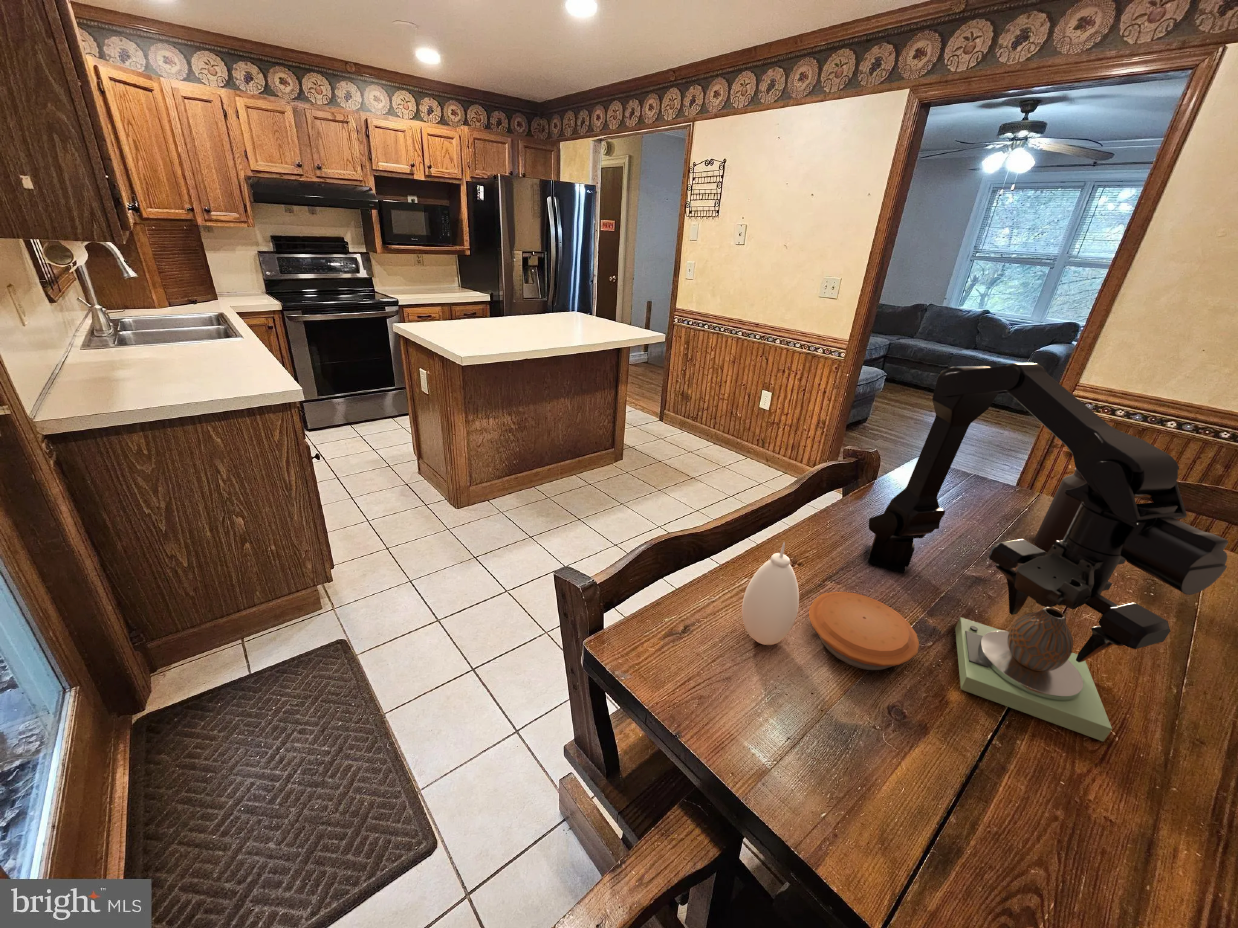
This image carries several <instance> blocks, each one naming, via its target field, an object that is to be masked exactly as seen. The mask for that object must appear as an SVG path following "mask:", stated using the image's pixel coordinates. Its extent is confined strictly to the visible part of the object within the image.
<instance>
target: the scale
mask: <svg viewBox="0 0 1238 928" xmlns="http://www.w3.org/2000/svg"><path fill="white" fill-rule="evenodd" d="M954 630H955V631H954V632H955V642H956V651H957V662H958V672H959V674H958V675H959V684H960V690H961V691H963V692H966V693H970V694H973V695H975V696H978V697H980V698H983V699H985V700H988V701H991V702H994V703H997V704H999V705H1003V706H1005V707H1007V708H1010V709H1013V710H1016V711H1019V712H1021V713H1024V714H1027V715H1030V716H1032V717H1035V718H1038V719H1040V720H1043V721H1045V722H1048V723H1051V724H1054V725H1057V726H1059V727H1062V728H1064V729H1068V730H1070V731H1073V732H1075V733H1079V734H1081V735H1084V736H1087V737H1089V738H1092V739H1095V740H1097V741H1100V742H1104V741H1105V740H1106V739H1107V737H1108V736H1109V734H1111V732H1112V730H1113V727H1112V725H1111V722H1110V720H1109V717H1108V715H1107V712H1106V710H1105V706H1104V704H1103V702H1102V700H1101V697H1100V694H1099V691H1098V689H1097V687H1096V684H1095V681H1094V679H1093V676H1092V674H1091V671H1090V669H1089V666H1088V664H1087V660H1085V661H1083V662H1077V661H1076V658H1077V656H1078V653H1074V652H1072V653H1071V655H1070V657H1069V659H1068V660H1069V661H1070V662H1071V663H1072V664H1073V665H1074V666H1075V668H1076V669H1077V670H1078V672H1079V673H1080V675H1081V677H1082V680H1083V688H1082V690H1081V692H1080V693H1079V695H1078V696H1076V697H1075V698H1072V699H1068V700H1054V699H1048V698H1044V697H1041V696H1038V695H1035V694H1032V693H1030V692H1027V691H1025V690H1023V689H1021V688H1019V687H1017V686H1015V685H1013V684H1012V683H1010V682H1008V681H1007V680H1005V679H1004V678H1003V677H1001V676H1000V675H999V674H997V673H996V672H995V671H994V670H993V669H992V668H991V667H990V666H989V665H988V664H987V663H986V661H985V660H984V658H983V657H982V655H981V653H980V649H979V644H980V641H981V639H982V637H983V636H984V635H985V634H987V633H989V632H992V631H1003V629H1000V628H995V627H992V626H989V625H986V624H983V623H980V622H977V621H975V620H974V621H973V620H970V619H967V618H964V617H961V616H960V617H959V619H958V621H957V624H956V625H955V628H954Z"/></svg>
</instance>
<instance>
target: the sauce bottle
mask: <svg viewBox="0 0 1238 928" xmlns="http://www.w3.org/2000/svg"><path fill="white" fill-rule="evenodd" d="M785 547H786V542H785V541H783V543H782V545H781V548H780V552H776V553H773V554H772V555H771V556H770V559H768V560H766V562H764V563H763V564H762V565H761V566H760V567H759V568H758V569H757V570H756V572H755V573H754V574H753V576H752V578H751V579H750V581H749V583H748V585H747V586H746V588H745V591H744V595H743V598H742V603H741V619H742V623H743V624H742V625H743V627H744V629H745V630H746V633H747V635H749V637H750V638H751V639H753V640H754V641H755V642H757V643H758V644H762V645H763V646H765V645H766V646H772V645H776V644H778V643H779V642H782V640H784V639H785V638H786V637H787V635H788V634H789V633H790V632H791V630H792V629H793V627H794V625H795V623H796V620H797V616H798V614H799V605H800V590H799V583H798V580H797V575H796V573H795V570H794V569H793V567H792V565H791V559H790V558H789V556H787V555H786V554H785Z"/></svg>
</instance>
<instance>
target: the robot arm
mask: <svg viewBox="0 0 1238 928" xmlns="http://www.w3.org/2000/svg"><path fill="white" fill-rule="evenodd" d="M1005 394H1009V395H1010V396H1011V397H1012V398H1013V399H1015V401H1017V403H1019V404H1020V405H1021V406H1022V407H1023V408H1024V409H1025V410H1027V412H1029V413H1030V415H1032V416H1033V417H1035V419H1036V420H1037V421H1038V422H1040V423H1041V424H1042V425H1043V426H1044V427H1045V428H1046V429H1047V430H1048V431H1049V432H1050V433H1052V435H1054V437H1055V438H1057V439H1058V440H1059V441H1060V442H1061V443H1062V444H1063V445H1064V446H1065V447H1066V448H1067V449H1068V451H1069V452H1070V453H1071V454H1072V458H1073V463H1074V468H1075V467H1076V469H1077V470H1078V472H1079V473H1080V474H1081V476H1082V477H1083V478H1084V480H1085V481H1086V482H1087V483H1085V484H1084V485H1082V486H1079V487H1076V488H1072V489H1066V490H1065V494H1066V495H1068V496H1070V497H1072V498H1074V499H1076V500H1078V501H1080V502H1082V503H1081V505H1080V507H1079V509H1078V511H1077V513H1076V515H1075V517H1074V519H1073V521H1072V523H1071V525H1070V527H1069V529H1068V531H1067V533H1066V534H1065V536H1064V538H1063V540H1061V541H1056V542H1055V544H1054V545H1052V547H1051V549H1050V550H1049V551H1046V550H1044V549H1042V548H1040V547H1039V546H1037V545H1036V544H1035V545H1034V544H1033V543H1031V542H1029V541H1028V540H1026V539H1024V538H1019V539H1014V540H1007V541H1001V542H997V543H996V544H994V545H993V546H992V547H991V550H990V551H989V554H988V559H989V560H990V561H992V562H993V563H995V569H997V570H999V571H1000V573H1001V574H1002V575H1003V576H1004V577H1005V579H1006V583H1007V590H1008V613H1009V615H1011V616H1014V615H1017V614H1018V613H1019V612H1020V611H1021V610H1022V608H1023V607H1024V605H1025V604H1026V601H1027V600H1028V598H1031V599H1032V600H1034V601H1035V603H1036V604H1038V605H1039V606H1042V607H1043V608H1046V607H1050V608H1054V607H1056V606H1058V607H1060V606H1065V607H1067V608H1068V609H1070V610H1072V611H1073V610H1076V609H1078V608H1080V607H1082V606H1084V605H1085V606H1087V607H1089V608H1091V609H1092V610H1094V611H1096V612H1097V613H1099V614H1100V615H1101V616H1100V618H1099V620H1098V625H1095V626H1092V627H1091V629H1090V630H1091V633H1092V634H1091V635H1090V637H1089V638H1088V640H1087V641H1086V642H1085V644H1084V645H1083V647H1082V648H1081V649H1080V650H1079V651H1078V653H1077V654H1078V656H1077V658H1076V661H1077V662H1083V661H1087V660H1089V659H1091V658H1092V657H1095V655H1097V654H1099V653H1100V652H1102V651H1104V650H1106V649H1108V648H1109V647H1111V646H1114V645H1115V646H1118V647H1124V646H1125V647H1126V648H1129V649H1133V650H1137V649H1142V648H1145V647H1149V646H1153V645H1155V644H1159V643H1163V642H1165V640H1166V639H1167V638H1168V636H1169V635H1170V632H1171V628H1170V624H1169V621H1168V620H1167V619H1165V618H1163V617H1161V616H1159V615H1158V614H1156V613H1154V612H1152V611H1151V610H1149V609H1147V608H1146V607H1145V606H1142V605H1140V604H1138V603H1137V602H1131V603H1126V604H1122V605H1119V604H1117V603H1115V602H1113V601H1112V600H1110V599H1109V598H1107V597H1106V596H1103V595H1102V593H1103V592H1104V591H1110V589H1111V587H1112V585H1113V582H1111V581H1110V579H1111V577H1112V575H1113V573H1114V572H1115V570H1116V569H1117V567H1118V566H1119V565H1123V564H1125V563H1128V564H1129V565H1131V566H1133V567H1135V568H1136V569H1138V570H1140V571H1142V572H1144V573H1146V574H1147V575H1149V576H1150V577H1152V578H1154V579H1157V580H1159V581H1160V582H1162V583H1164V584H1166V585H1168V586H1169V587H1172V588H1173V589H1175V590H1177V591H1178V592H1180V593H1182V594H1184V595H1187V596H1188V595H1189V596H1191V595H1195V594H1198V593H1200V592H1202V591H1204V590H1206V589H1207V588H1209V587H1211V585H1213V584H1215V582H1217V580H1219V578H1221V576H1222V575H1223V573H1224V572H1226V569H1227V568H1228V566H1227V561H1228V554H1227V552H1226V551H1225V548H1227V546H1228V544H1229V540H1228V539H1226V538H1224V537H1222V536H1219V535H1218V534H1215V533H1212V532H1207V531H1204V530H1201V529H1200V528H1197V527H1195V526H1192V525H1190V524H1188V523H1185V522H1183V521H1181V519H1186V518H1187V517H1188V515H1187V510H1186V507H1185V505H1184V504H1185V503H1184V501H1183V497H1182V494H1181V491H1180V488H1179V484H1178V479H1179V470H1180V466H1179V464H1178V462H1177V461H1176V460H1175V458H1174V457H1173V456H1172V455H1170V454H1169V453H1168V452H1165V451H1164V450H1163V449H1160V448H1159V447H1157V446H1155V445H1153V444H1151V443H1149V442H1148V441H1146V440H1144V439H1142V438H1140V437H1137V436H1134V435H1132V434H1129V433H1127V432H1124V431H1121V430H1119V429H1117V428H1115V427H1114V426H1111V425H1110V424H1109V423H1108V422H1106V421H1105V420H1104V419H1103V418H1102V417H1100V416H1099V415H1098V414H1096V413H1095V412H1094V411H1093V410H1092V409H1090V407H1088V406H1087V405H1086V404H1085V403H1083V402H1082V401H1081V400H1080V399H1078V398H1077V397H1076V396H1075V395H1074V394H1072V393H1071V392H1070V391H1069V390H1068V389H1066V388H1065V387H1064V386H1063V385H1061V384H1060V382H1058V381H1056V379H1054V378H1053V377H1052V376H1051V375H1049V373H1048V372H1047V370H1046V369H1045V368H1044V367H1043V366H1042V365H1040V364H1039V363H1036V362H1035V363H1034V362H1012V363H1007V364H1006V365H999V366H994V367H991V366H986V365H980V366H979V365H978V366H977V365H976V366H975V365H974V366H973V365H971V366H970V365H969V366H966V365H965V366H950V367H948V368H946V369H944V370H942V371H941V372H940V374H939V375H938V377H937V379H936V382H935V387H934V390H933V395H932V398H931V399H932V404H933V409H934V412H935V413H934V414H935V417H934V419H933V422H932V424H931V427H930V429H929V431H928V434H927V435H926V436H927V437H926V439H925V440H924V441H925V442H924V444H923V446H922V448H921V451H920V454H919V456H918V458H917V460H916V463H915V465H914V468H913V471H912V473H911V475H910V477H909V480H908V483H907V485H906V486H905V488H903V489H902V490H901V491H900V492H899V493H897V494H896V495H895V496H894V497H893V498H892V499H891V500H890V502H889V503H888V505H887V507H886V508H885V510H884V512H883V513H881V514H878V515H875V516H873V517H869V518H868V530H869V531H870V532H871V533H873V534H874V537H873V540H872V543H871V545H870V546H869V549H868V556H867V563H868V564H869V565H873V566H877V567H879V568H884V569H886V570H891V571H893V572H896V573H899V574H905V573H906V568H908V567H909V566H910V563H911V561H912V558H913V555H914V552H915V542H914V539H924V538H925V536H926V535H929V534H932V533H933V532H934V531H935V530H939V529H940V523H941V520H942V519H943V517H944V516H945V515H946V510H945V509H943V508H942V507H940V503H939V500H938V496H939V493H940V491H941V489H942V487H943V484H944V482H945V480H946V478H947V475H948V473H949V471H950V469H951V467H952V464H953V462H954V460H955V458H956V456H957V454H958V451H959V449H960V447H961V445H962V443H963V440H964V439H965V436H966V434H967V432H968V429H969V428H970V425H971V424H972V423H973V422H975V421H976V420H977V419H978V418H980V417H981V416H982V415H983V414H984V413H985V412H986V411H988V410H989V409H990V407H991V405H992V404H993V402H994V401H995V399H996V398H997V397H998V395H1005ZM1140 498H1141V499H1142V498H1150V499H1151V500H1152V502H1142V503H1141V502H1140V503H1137V502H1136V499H1140Z"/></svg>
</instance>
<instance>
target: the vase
mask: <svg viewBox="0 0 1238 928" xmlns="http://www.w3.org/2000/svg"><path fill="white" fill-rule="evenodd" d="M1008 631H1009V633H1008V638H1007V642H1008V648H1009V650H1010V652H1011V654H1012V655H1013V657H1014V658H1015V659H1016V660H1017V661H1018V662H1019V663H1020V664H1022V665H1023V666H1025V667H1027V668H1029V669H1032V670H1035V671H1052V670H1055V669H1057V668H1059V667H1061V666H1062V665H1063V664H1065V663H1066V661H1067V660H1068V659H1069V657H1070V655H1071V653H1073V651H1074V650H1073V648H1074V637H1073V634H1072V632H1071V630H1070V628H1069V625H1068V624H1067V618H1066V615H1065V613H1063V612H1062V611H1061V610H1058V609H1056V608H1054V607H1043V608H1042V609H1040V610H1038V611H1034V612H1029V613H1026V614H1023V615H1021V616H1020V617H1018V618H1017V619H1016V620H1015V621H1014V622H1013V623H1012V624H1011V626H1010V627H1009V630H1008Z"/></svg>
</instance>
